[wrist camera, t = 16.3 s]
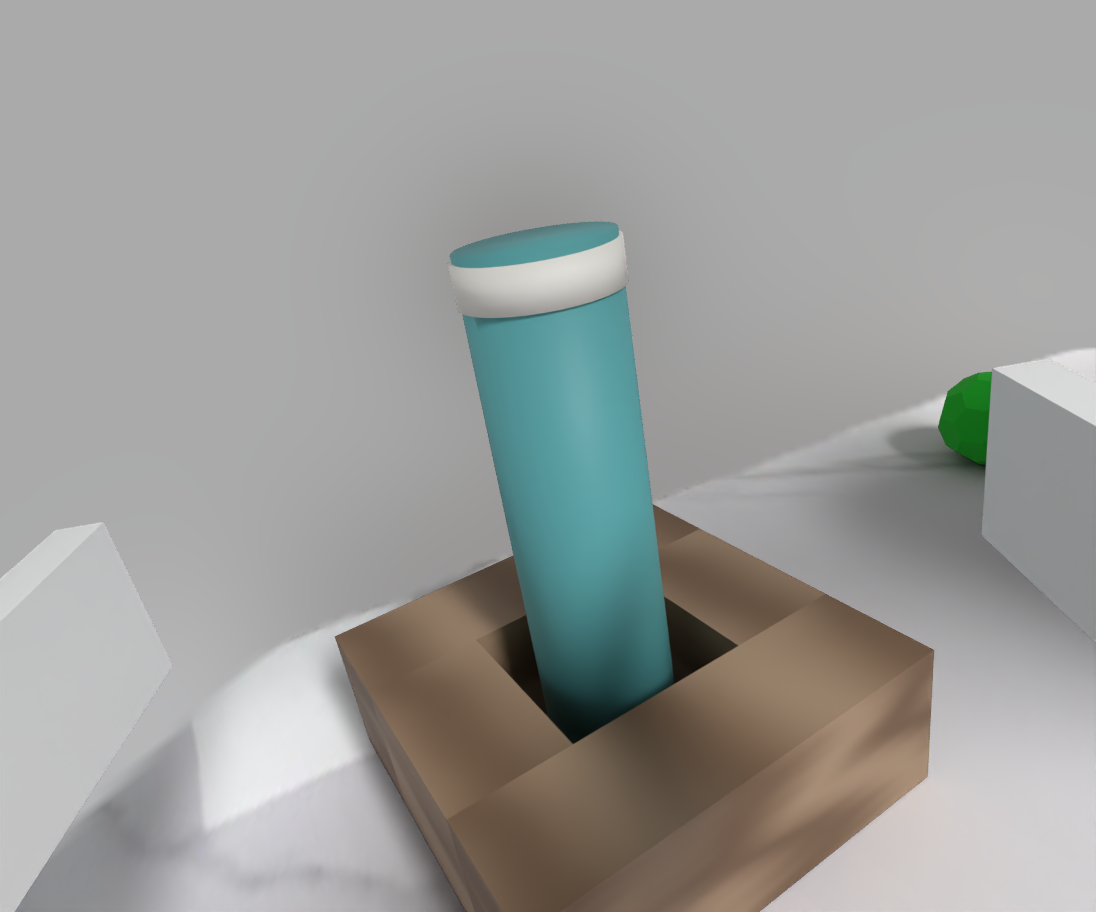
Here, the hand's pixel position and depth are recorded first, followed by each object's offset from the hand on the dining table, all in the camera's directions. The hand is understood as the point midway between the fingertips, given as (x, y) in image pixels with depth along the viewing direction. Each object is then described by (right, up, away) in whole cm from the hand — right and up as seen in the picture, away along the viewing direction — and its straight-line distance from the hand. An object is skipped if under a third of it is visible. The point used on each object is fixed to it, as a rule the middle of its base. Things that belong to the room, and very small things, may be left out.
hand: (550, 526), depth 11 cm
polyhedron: (+24, +1, +31) cm, 39 cm away
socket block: (+2, -10, +15) cm, 18 cm away
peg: (+3, -10, +15) cm, 18 cm away
